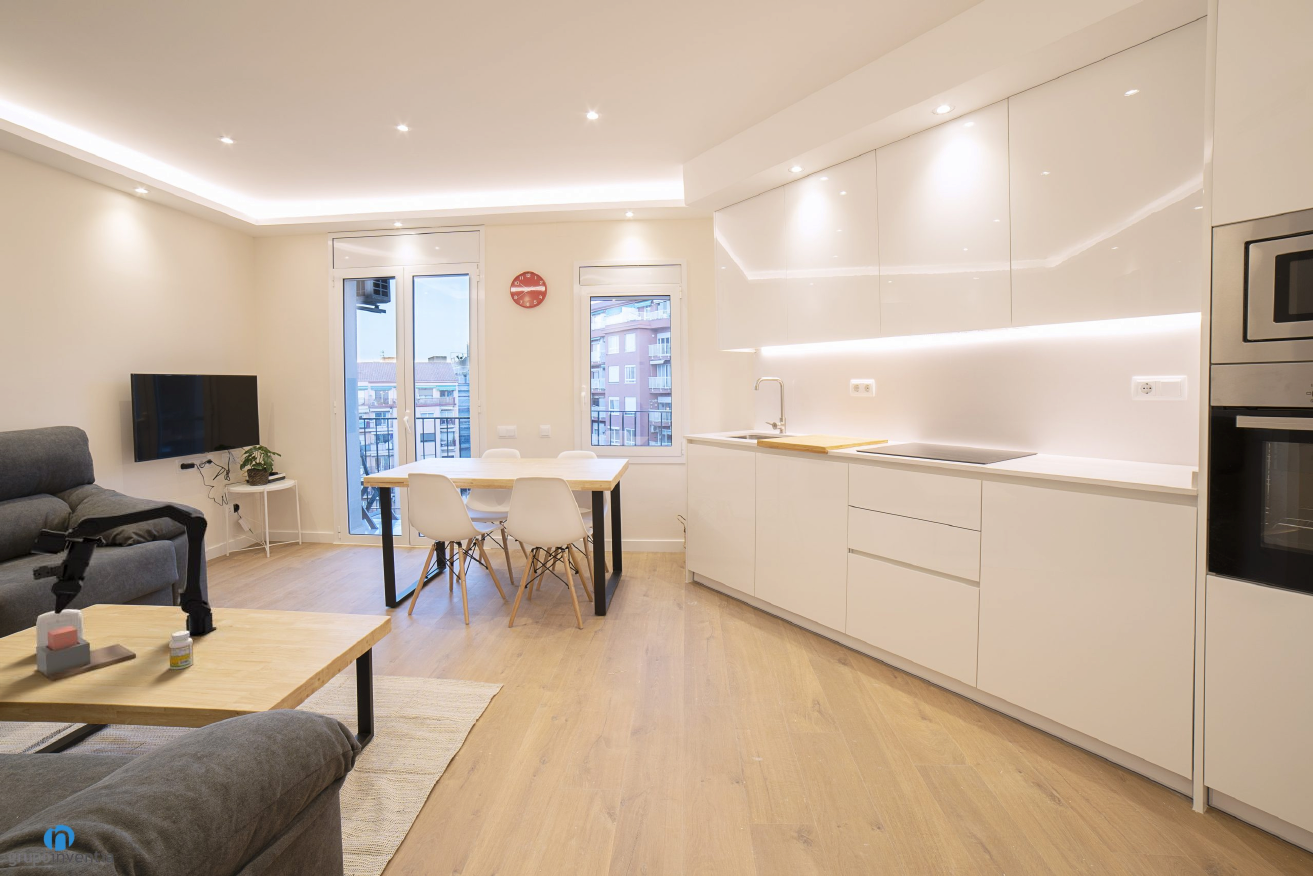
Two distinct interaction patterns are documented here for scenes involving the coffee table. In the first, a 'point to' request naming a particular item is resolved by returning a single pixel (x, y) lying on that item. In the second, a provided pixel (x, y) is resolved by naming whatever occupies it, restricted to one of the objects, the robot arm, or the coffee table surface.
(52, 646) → the plug
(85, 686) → the coffee table surface
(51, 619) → the photo printer
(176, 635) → the supplement bottle
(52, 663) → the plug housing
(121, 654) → the board
